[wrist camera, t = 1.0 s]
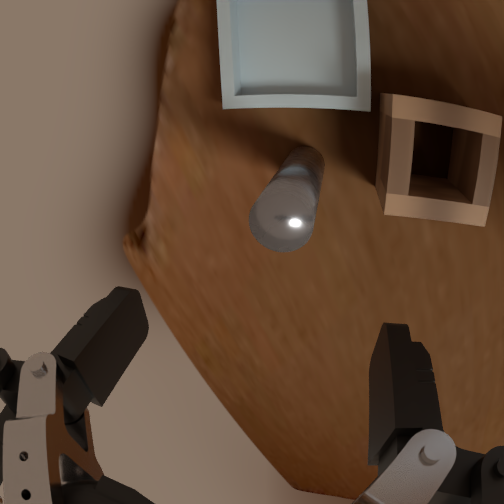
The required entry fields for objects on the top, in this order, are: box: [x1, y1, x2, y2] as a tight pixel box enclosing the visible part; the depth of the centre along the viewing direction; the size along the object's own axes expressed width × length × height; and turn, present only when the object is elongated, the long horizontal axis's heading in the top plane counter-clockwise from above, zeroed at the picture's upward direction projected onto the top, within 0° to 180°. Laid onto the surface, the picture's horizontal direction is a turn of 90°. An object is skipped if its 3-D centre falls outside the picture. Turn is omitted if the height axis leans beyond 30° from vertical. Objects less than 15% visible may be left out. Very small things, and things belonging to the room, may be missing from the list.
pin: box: [249, 146, 325, 252], centre depth 20 cm, size 3×3×12 cm
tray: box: [217, 0, 371, 112], centre depth 19 cm, size 11×11×2 cm
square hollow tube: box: [375, 93, 502, 227], centre depth 19 cm, size 8×8×6 cm
